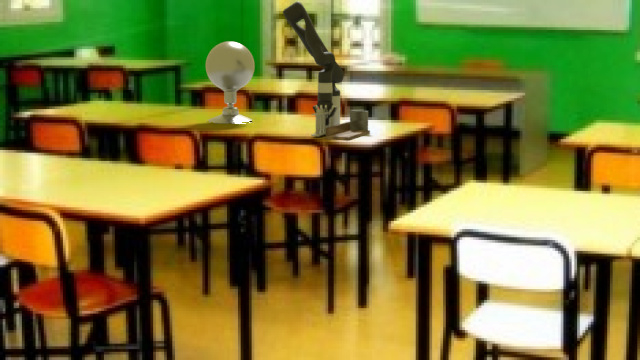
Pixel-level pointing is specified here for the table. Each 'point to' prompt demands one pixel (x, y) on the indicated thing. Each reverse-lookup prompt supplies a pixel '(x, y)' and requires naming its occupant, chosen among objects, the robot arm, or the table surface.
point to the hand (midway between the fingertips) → (324, 125)
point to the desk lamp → (230, 76)
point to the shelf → (350, 127)
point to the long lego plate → (322, 122)
